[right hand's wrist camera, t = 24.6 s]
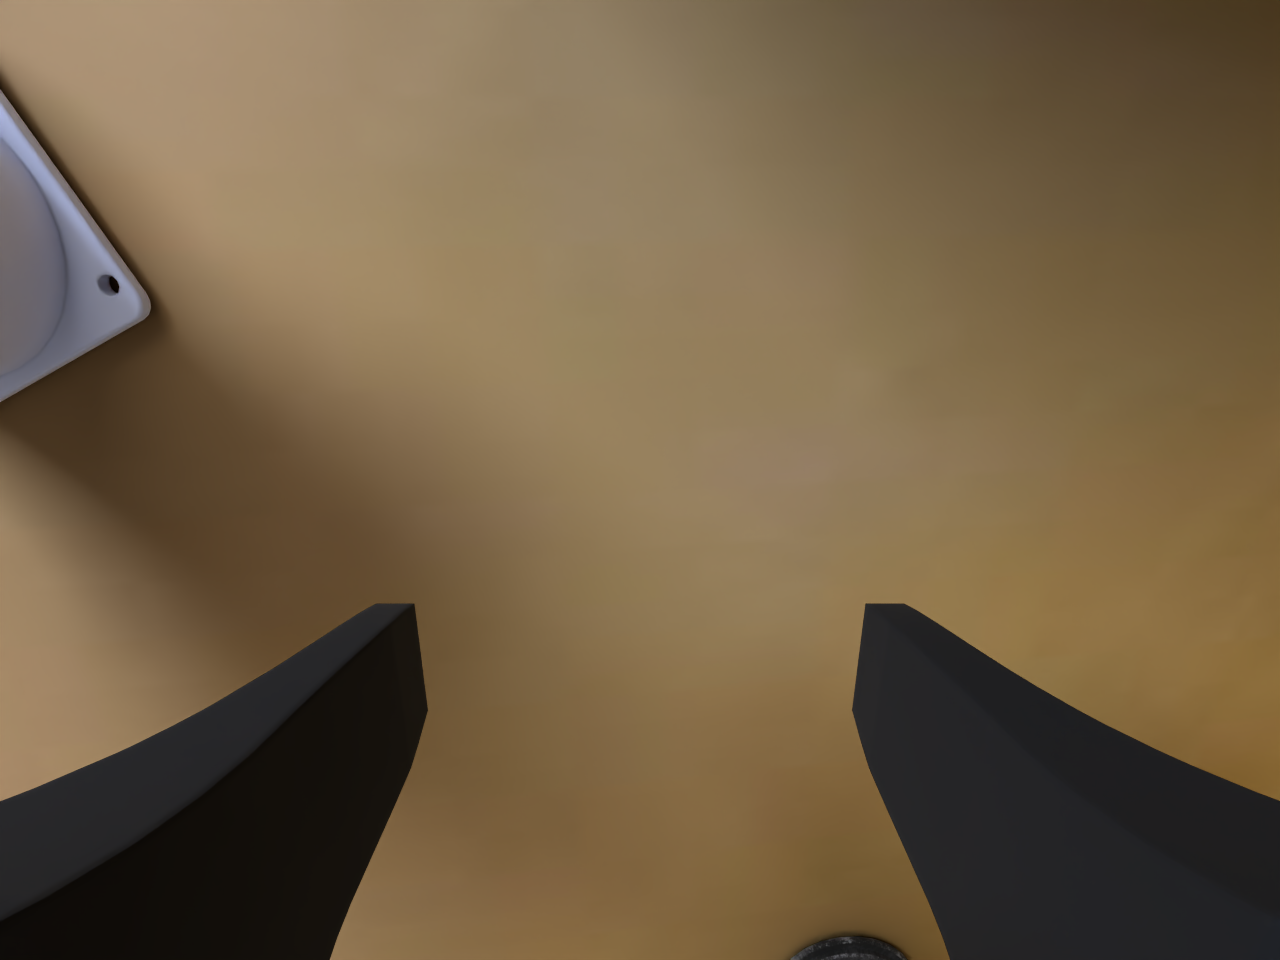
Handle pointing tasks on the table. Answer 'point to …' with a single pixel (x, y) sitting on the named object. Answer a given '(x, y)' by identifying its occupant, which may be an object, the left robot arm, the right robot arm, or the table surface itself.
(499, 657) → the table surface
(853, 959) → the grey tall tapered piece
